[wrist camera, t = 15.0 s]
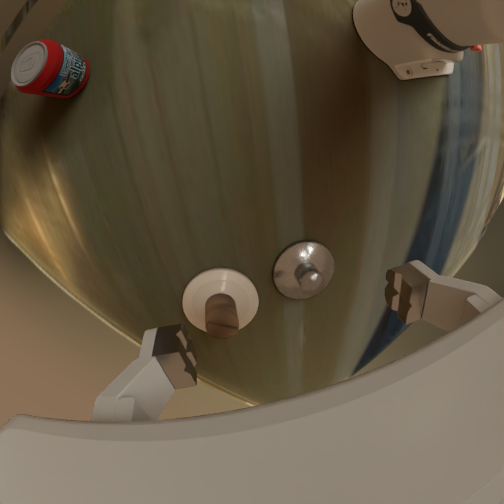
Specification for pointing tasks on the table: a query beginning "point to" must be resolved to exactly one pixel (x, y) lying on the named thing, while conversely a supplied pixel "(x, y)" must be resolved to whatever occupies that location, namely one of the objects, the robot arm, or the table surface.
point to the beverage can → (49, 70)
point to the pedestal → (303, 269)
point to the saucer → (220, 283)
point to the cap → (221, 316)
